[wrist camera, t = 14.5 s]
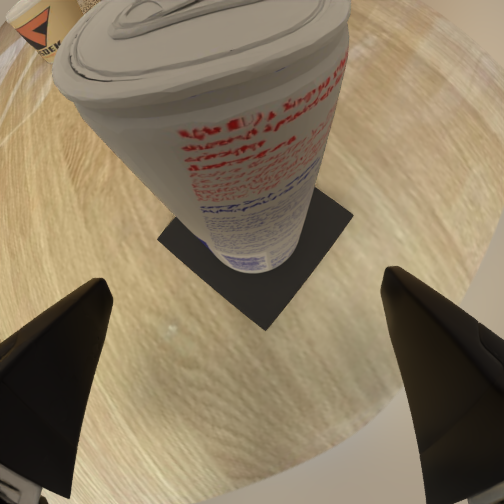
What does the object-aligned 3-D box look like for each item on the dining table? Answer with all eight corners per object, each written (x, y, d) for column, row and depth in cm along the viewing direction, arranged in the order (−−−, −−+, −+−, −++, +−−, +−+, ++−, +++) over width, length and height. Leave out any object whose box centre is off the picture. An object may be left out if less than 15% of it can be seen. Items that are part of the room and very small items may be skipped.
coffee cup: (33, 73, 26) (-7, 26, 14) (65, 32, 28) (34, -13, 16) (73, 61, 25) (30, 1, 13) (107, 19, 27) (77, -37, 15)
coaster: (351, 217, 18) (354, 215, 18) (265, 330, 17) (265, 331, 17) (245, 144, 20) (244, 140, 19) (160, 241, 19) (156, 239, 18)
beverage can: (311, 202, 18) (369, -35, 3) (282, 287, 17) (319, 137, 2) (228, 177, 19) (152, -44, 4) (195, 256, 18) (2, 99, 3)
